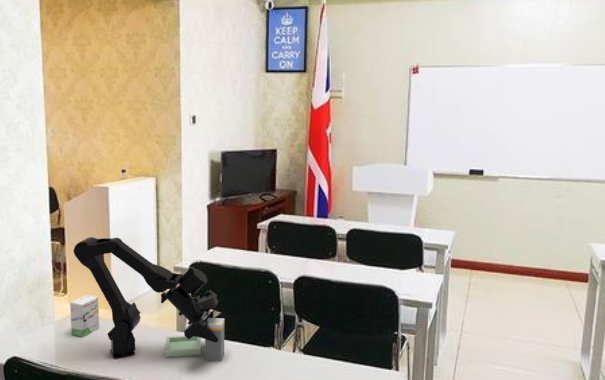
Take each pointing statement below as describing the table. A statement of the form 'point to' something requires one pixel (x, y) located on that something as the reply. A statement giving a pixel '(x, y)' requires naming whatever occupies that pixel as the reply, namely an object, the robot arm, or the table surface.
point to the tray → (182, 346)
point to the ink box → (84, 315)
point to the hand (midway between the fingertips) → (219, 337)
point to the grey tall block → (216, 349)
